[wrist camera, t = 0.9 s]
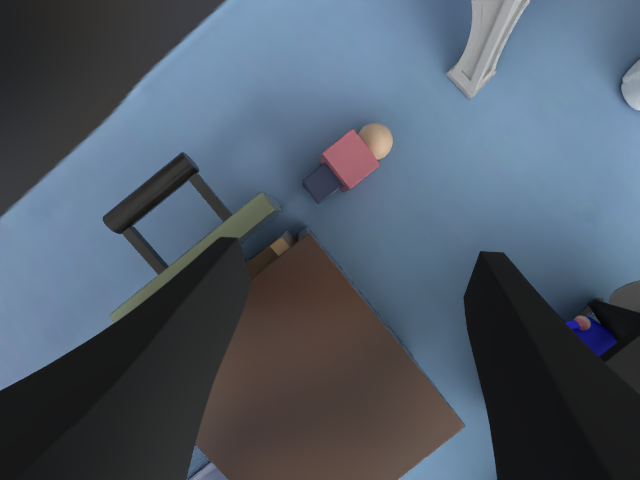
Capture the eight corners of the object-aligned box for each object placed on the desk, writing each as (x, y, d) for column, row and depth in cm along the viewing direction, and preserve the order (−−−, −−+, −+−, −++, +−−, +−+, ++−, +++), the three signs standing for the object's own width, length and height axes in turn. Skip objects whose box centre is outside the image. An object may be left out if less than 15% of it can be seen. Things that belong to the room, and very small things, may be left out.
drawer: (117, 234, 23) (40, 243, 16) (229, 143, 23) (198, 114, 16) (272, 409, 25) (260, 482, 18) (377, 325, 25) (404, 367, 18)
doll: (322, 210, 25) (325, 209, 21) (297, 178, 24) (297, 173, 21) (395, 150, 25) (410, 140, 21) (371, 118, 24) (383, 103, 21)
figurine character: (586, 264, 28) (456, 377, 26) (703, 275, 20) (530, 435, 19) (625, 324, 28) (501, 438, 27) (752, 357, 21) (589, 518, 19)
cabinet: (190, 320, 25) (131, 376, 16) (306, 225, 25) (309, 232, 16) (301, 445, 26) (300, 558, 18) (412, 356, 26) (466, 426, 18)
